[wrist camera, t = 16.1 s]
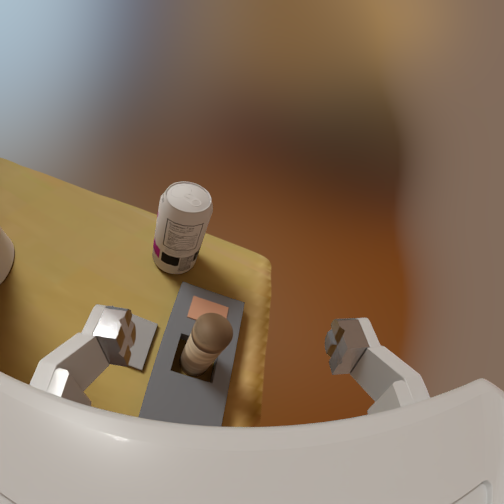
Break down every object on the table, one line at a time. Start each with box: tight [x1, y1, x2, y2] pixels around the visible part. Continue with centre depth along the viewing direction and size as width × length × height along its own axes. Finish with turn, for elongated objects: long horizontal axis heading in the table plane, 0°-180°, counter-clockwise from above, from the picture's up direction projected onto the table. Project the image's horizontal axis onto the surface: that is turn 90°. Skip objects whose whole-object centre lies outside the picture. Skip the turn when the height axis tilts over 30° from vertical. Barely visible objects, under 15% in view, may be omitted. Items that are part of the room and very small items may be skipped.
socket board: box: [139, 282, 244, 427], centre depth 37 cm, size 24×11×3 cm, turn 172°
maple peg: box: [179, 313, 233, 376], centre depth 33 cm, size 4×4×13 cm
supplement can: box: [152, 182, 213, 274], centre depth 44 cm, size 8×8×15 cm
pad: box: [112, 306, 158, 371], centre depth 36 cm, size 8×8×1 cm
